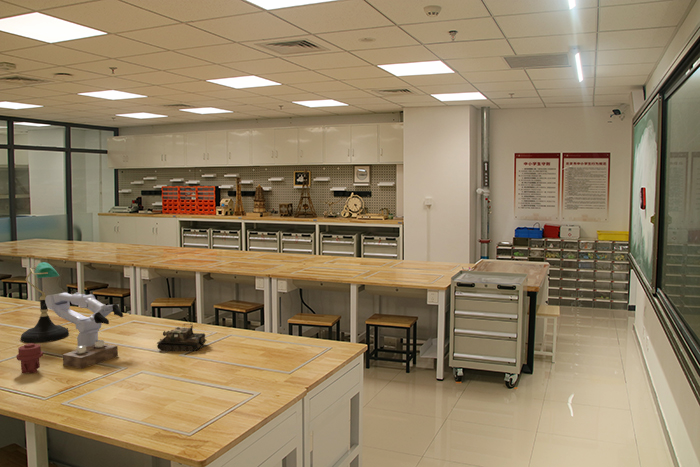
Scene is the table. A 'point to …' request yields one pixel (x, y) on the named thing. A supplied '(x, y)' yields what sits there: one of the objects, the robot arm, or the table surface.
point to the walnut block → (90, 356)
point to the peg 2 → (99, 344)
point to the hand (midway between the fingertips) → (115, 318)
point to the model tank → (181, 340)
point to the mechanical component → (29, 357)
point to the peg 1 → (81, 350)
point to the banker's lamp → (44, 313)
